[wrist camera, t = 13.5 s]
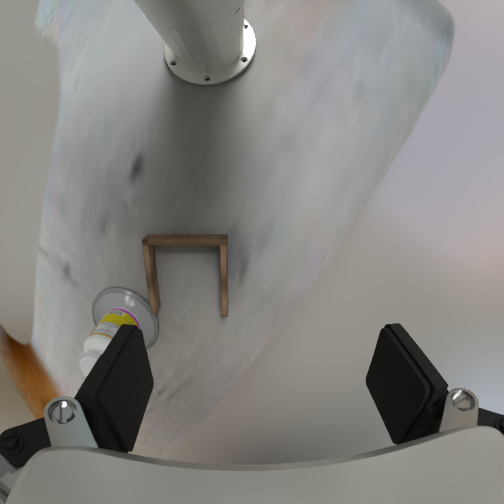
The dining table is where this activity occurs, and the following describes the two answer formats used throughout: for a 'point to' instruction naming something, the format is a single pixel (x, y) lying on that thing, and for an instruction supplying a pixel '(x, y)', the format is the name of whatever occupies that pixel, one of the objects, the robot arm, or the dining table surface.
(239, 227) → the dining table surface
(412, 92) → the dining table surface
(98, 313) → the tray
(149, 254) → the frame
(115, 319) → the supplement bottle
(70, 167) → the dining table surface
